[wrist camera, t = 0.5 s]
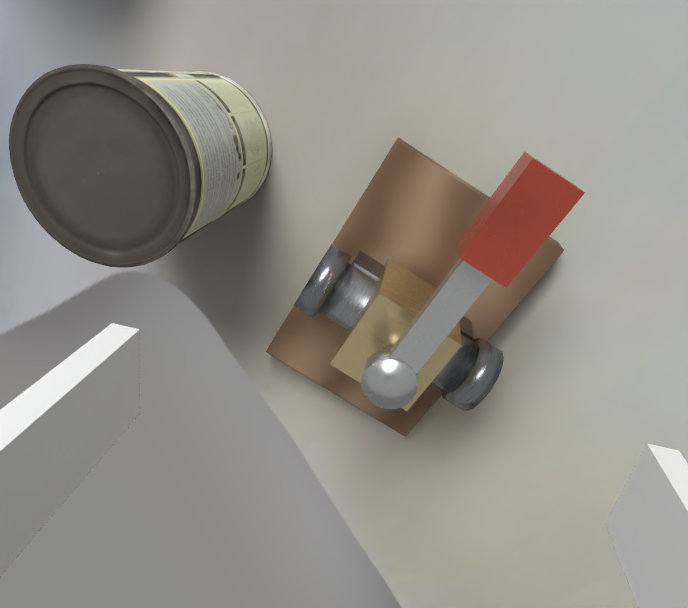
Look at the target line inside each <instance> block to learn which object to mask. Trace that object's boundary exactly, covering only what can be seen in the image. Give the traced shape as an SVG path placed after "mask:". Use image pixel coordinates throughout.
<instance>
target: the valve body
mask: <svg viewBox="0 0 688 608" xmlns="http://www.w3.org/2000/svg"><path fill="white" fill-rule="evenodd" d="M351 257H352V256H350V255H349V254H347V253H345V252H344V251H342V250H341V249H339V248H337V247H336V246H334V245H333V244H332V245H331V246H330V248H329V249H328V251H327V252H326V254H325V256H324V257H323V259H322V260H321V262H320V264H319V265H318V267H317V268H316V270H315V272H314V273H313V275H312V276H311V278H310V280H309V281H308V283H307V285H306V286H305V288H304V289H303V291H302V293H301V294H300V296H299V298H298V299H297V301H296V302H295V304H294V306H295V307H297V308H298V309H300V310H302V311H303V312H305V313H306V314H308V315H310V316H311V317H313V318H314V317H315V316H316V314H317V313H318V312H319V313H320V314H322V315H323V316H325V317H327V318H328V319H330V320H332V321H333V322H335V323H336V324H338V325H340V326H341V327H343V331H342V333H341V336H340V338H339V341H338V344H337V346H336V349H335V352H334V354H333V357H332V359H331V362H330V365H332V366H333V367H335V368H337V369H338V370H340V371H342V372H343V373H345V374H346V375H348V376H350V377H351V378H353V379H355V380H356V381H358V382H360V383H361V378H362V374H363V371H364V367H365V363H366V361H367V360H368V358H369V357H370V356H371V355H372V354H374V353H375V352H377V351H380V350H383V349H391V348H392V347H393V346H394V344H395V343H396V342H397V340H398V339H399V338H400V336H401V335H402V334H403V332H404V331H405V330H406V328H407V327H408V326H409V324H410V323H411V322H412V320H413V319H414V318H415V316H416V315H417V314H418V313H419V311H420V310H421V309H422V307H423V306H424V305H425V303H426V302H427V301H428V299H429V298H430V297H431V295H432V294H433V293H434V291H435V290H436V289H437V288H435V287H434V286H432V285H431V284H429V283H427V282H426V281H424V280H423V279H421V278H420V277H418V276H416V275H415V274H413V273H412V272H410V271H409V270H407V269H405V268H404V267H402V266H401V265H399V264H397V263H396V262H394V261H393V260H391V259H390V258H388V260H387V261H386V263H385V264H384V266H383V267H382V265H383V264H381V263H380V262H378V261H376V260H375V259H373V258H372V257H370V256H368V255H367V254H365V253H364V252H362V251H361V250H360V251H359V253H358V254H357V256H356V257H355V259H354V260H353V262H352V263H351V264H349V261H350V259H351ZM381 268H382V269H381ZM473 338H474V337H473V330H472V323H471V320H470V319H468V318H467V317H465V316H463V317H462V318H461V319H460V321H459V322H458V323H457V324H456V326H455V327H454V328H453V329H452V331H451V332H450V333H449V334H448V336H447V337H446V338H445V339H444V341H443V342H442V343H441V344H440V345H439V347H438V348H437V349H436V350H435V352H434V353H433V354H432V355H431V357H430V358H429V359H428V360H427V362H426V363H425V364H424V365H423V367H422V368H421V369H420V370H419V372H418V385H417V392H416V395H415V397H414V398H413V400H412V401H411V402H410V403H409V404H407V405H406V406H404V407H401V408H402V409H404V410H405V411H408V410H409V409H410V407H411V406H412V405H413V404H414V403H415V401H416V400H417V399H418V398H419V396H420V395H421V394H422V393H423V392H424V390H425V389H426V388H427V387H428V386H429V384H430V383H431V382H432V383H434V384H435V385H437V386H438V387H440V388H442V390H441V393H442V397H443V398H444V399H446V400H448V401H449V402H451V403H452V404H454V405H456V406H457V407H459V408H461V409H462V410H465V411H467V410H470V409H472V408H474V407H475V406H477V405H478V404H479V403H480V402H481V401H482V400H483V399H484V398H485V397H486V396H487V394H488V393H489V392H490V390H491V389H492V387H493V386H494V384H495V382H496V380H497V378H498V376H499V374H500V371H501V368H502V365H503V353H502V351H501V350H499V349H498V348H496V347H495V346H493V345H491V344H490V343H488V342H487V341H485V340H483V339H482V338H476V339H474V340H472V339H473Z"/></svg>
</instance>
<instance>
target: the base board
mask: <svg viewBox="0 0 688 608" xmlns="http://www.w3.org/2000/svg"><path fill="white" fill-rule="evenodd" d="M489 199H490V197H488V196H487V195H485V194H484V193H482V192H480V191H479V190H477V189H476V188H474V187H473V186H471V185H470V184H468V183H467V182H465V181H464V180H462V179H461V178H459V177H458V176H456V175H454V174H453V173H451V172H450V171H448V170H447V169H445V168H444V167H442V166H441V165H439V164H438V163H436V162H435V161H433V160H432V159H430V158H429V157H427V156H425V155H424V154H422V153H421V152H419V151H418V150H416V149H415V148H413V147H412V146H410V145H409V144H407V143H406V142H404V141H403V140H401V139H400V138H398V139H397V140H396V142H395V143H394V145H393V147H392V148H391V150H390V151H389V153H388V155H387V156H386V158H385V160H384V161H383V163H382V164H381V166H380V168H379V169H378V171H377V173H376V174H375V176H374V177H373V179H372V181H371V182H370V184H369V186H368V187H367V189H366V190H365V192H364V194H363V195H362V197H361V198H360V200H359V202H358V203H357V205H356V207H355V208H354V210H353V211H352V213H351V215H350V216H349V218H348V220H347V221H346V223H345V224H344V226H343V228H342V229H341V231H340V232H339V234H338V236H337V237H336V239H335V241H334V242H333V245H334V246H336V247H337V248H339V249H341V250H342V251H344V252H345V253H347V254H349V255H350V256H352V257H351V259H350V261H349V264H351V263H352V262H353V260H354V259H355V257H356V256H357V254H358V253H359V251H360V250H361V251H362V252H364V253H365V254H367V255H368V256H370V257H372V258H373V259H375V260H376V261H378V262H380V263H381V264H383V265H382V267H383V266H384V264H385V263H386V261H387V260H388V258H390V259H391V260H393V261H394V262H396V263H397V264H399V265H401V266H402V267H404V268H405V269H407V270H409V271H410V272H412V273H413V274H415V275H416V276H418V277H420V278H421V279H423V280H424V281H426V282H427V283H429V284H431V285H432V286H434V287H435V288H437V287H438V286H439V285H440V283H441V282H442V281H443V279H444V278H445V277H446V275H447V274H448V273H449V271H450V270H451V269H452V267H453V266H454V265H455V263H456V262H457V261H458V259H459V258H458V250H457V242H458V241H459V240H460V238H461V237H462V236H463V234H464V233H465V232H466V230H467V229H468V228H469V226H470V225H471V224H472V222H473V221H474V219H475V218H476V217H477V215H478V214H479V213H480V211H481V210H482V209H483V207H484V206H485V205H486V203H487V202H488V201H489ZM563 251H564V249H563V248H562V247H561V245H560V244H559V243H558V242H557V241H555V240H554V239H552V238H551V237H548V238H547V239H546V240H545V242H544V243H543V244H542V245H541V246H540V248H539V249H538V250H537V251H536V253H535V254H534V255H533V256H532V257H531V259H530V260H529V261H528V262H527V263H526V265H525V266H524V267H523V268H522V270H521V271H520V272H519V273H518V274H517V276H516V277H515V278H514V279H513V280H512V282H511V283H510V284H509V285H508V286H507V288H505V287H504V286H502V285H500V284H499V283H497V282H496V281H494V280H492V281H491V282H490V283H489V285H488V286H487V287H486V288H485V290H484V291H483V292H482V293H481V294H480V296H479V297H478V298H477V299H476V301H475V302H474V303H473V304H472V306H471V307H470V308H469V309H468V311H467V312H466V313H465V314H464V316H465V317H467V318H468V319H470V320H471V323H472V330H473V337H474V338H473V339H472V340H474V339H476V338H482V339H483V340H485V341H487V340H488V339H489V338H490V337H491V336H492V335H493V333H494V332H495V331H496V330H497V329H498V327H499V326H500V325H501V324H502V323H503V322H504V320H505V319H506V318H507V317H508V316H509V315H510V313H511V312H512V311H513V310H514V309H515V308H516V306H517V305H518V304H519V303H520V302H521V300H522V299H523V298H524V297H525V296H526V295H527V293H528V292H529V291H530V290H531V289H532V288H533V286H534V285H535V284H536V283H537V282H538V281H539V279H540V278H541V277H542V276H543V275H544V273H545V272H546V271H547V270H548V269H549V268H550V266H551V265H552V264H553V263H554V262H555V261H556V259H557V258H558V257H559V256H560V255H561V254H562V252H563ZM381 269H382V268H381ZM342 331H343V327H341V326H340V325H338V324H336V323H335V322H333V321H332V320H330V319H328V318H327V317H325V316H323V315H322V314H320V313H319V312H318V313H317V314H316V316H315V317H314V318H313V317H311V316H310V315H308V314H306V313H305V312H303V311H302V310H300V309H298V308H297V307H295V306H294V307H293V309H292V310H291V312H290V313H289V315H288V317H287V318H286V320H285V322H284V323H283V325H282V326H281V328H280V330H279V331H278V333H277V335H276V336H275V338H274V339H273V341H272V343H271V344H270V346H269V347H268V349H267V351H266V352H267V353H269V354H270V355H272V356H274V357H275V358H277V359H279V360H280V361H282V362H283V363H285V364H287V365H288V366H290V367H292V368H293V369H295V370H297V371H298V372H300V373H302V374H303V375H305V376H307V377H308V378H310V379H312V380H313V381H315V382H316V383H318V384H320V385H321V386H323V387H325V388H326V389H328V390H330V391H331V392H333V393H335V394H336V395H338V396H340V397H341V398H343V399H345V400H346V401H348V402H349V403H351V404H353V405H354V406H356V407H358V408H359V409H361V410H363V411H364V412H366V413H368V414H369V415H371V416H373V417H374V418H376V419H378V420H379V421H381V422H382V423H384V424H386V425H387V426H389V427H391V428H392V429H394V430H396V431H397V432H399V433H401V434H402V435H404V436H406V435H407V434H408V433H409V432H410V431H411V430H412V428H413V427H414V426H415V425H416V424H417V423H418V421H419V420H420V419H421V418H422V417H423V415H424V414H425V413H426V412H427V411H428V410H429V408H430V407H431V406H432V405H433V404H434V403H435V401H436V400H437V399H438V398H439V397H440V396H441V394H442V393H441V390H442V388H440V387H438V386H437V385H435V384H434V383H432V382H431V383H430V384H429V386H428V387H427V388H426V389H425V390H424V392H423V393H422V394H421V395H420V396H419V398H418V399H417V400H416V401H415V403H414V404H413V405H412V406H411V407H410V409H409V410H408V411H405V410H404V409H402V408H398V409H384V408H380V407H378V406H376V405H374V404H372V403H371V402H370V401H369V400H368V399H367V398H366V397H365V395H364V394H363V391H362V388H361V383H360V382H358V381H356V380H355V379H353V378H351V377H350V376H348V375H346V374H345V373H343V372H342V371H340V370H338V369H337V368H335V367H333V366H332V365H330V362H331V359H332V357H333V354H334V352H335V349H336V346H337V344H338V341H339V338H340V336H341V333H342Z"/></svg>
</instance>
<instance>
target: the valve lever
mask: <svg viewBox="0 0 688 608" xmlns="http://www.w3.org/2000/svg"><path fill="white" fill-rule="evenodd" d="M584 193H585V192H583V191H582V190H581V189H579V188H578V187H577V186H575V185H574V184H573V183H571V182H570V181H568V180H567V179H565V178H564V177H562V176H561V175H559V174H558V173H556V172H555V171H553V170H552V169H550V168H549V167H547V166H546V165H544V164H543V163H541V162H540V161H538V160H537V159H535V158H534V157H532V156H531V155H529V154H528V153H526V152H524V153H523V155H522V156H521V157H520V159H519V160H518V161H517V163H516V164H515V165H514V167H513V168H512V169H511V171H510V172H509V174H508V175H507V176H506V178H505V179H504V180H503V182H502V183H501V184H500V186H499V187H498V188H497V190H496V191H495V192H494V194H493V195H492V196H491V198H490V199H489V201H488V202H487V203H486V205H485V206H484V207H483V209H482V210H481V211H480V213H479V214H478V215H477V217H476V218H475V219H474V221H473V222H472V224H471V225H470V226H469V228H468V229H467V230H466V232H465V233H464V234H463V236H462V237H461V238H460V240H459V241H458V242H457V250H458V258H459V259H458V261H457V262H456V263H455V265H454V266H453V267H452V269H451V270H450V271H449V273H448V274H447V275H446V277H445V278H444V279H443V281H442V282H441V283H440V285H439V286H438V287H437V289H436V290H435V291H434V293H433V294H432V295H431V297H430V298H429V299H428V301H427V302H426V303H425V305H424V306H423V307H422V309H421V310H420V311H419V313H418V314H417V315H416V316H415V318H414V319H413V320H412V322H411V323H410V324H409V326H408V327H407V328H406V330H405V331H404V332H403V334H402V335H401V336H400V338H399V339H398V340H397V342H396V343H395V344H394V346H393V347H392V348H391V349H383V350H380V351H377V352H375V353H374V354H372V355H371V356H370V357H369V358H368V360H367V361H366V363H365V367H364V371H363V374H362V378H361V388H362V391H363V394H364V395H365V397H366V398H367V399H368V400H369V401H370V402H371V403H372V404H374V405H376V406H378V407H380V408H384V409H398V408H401V407H404V406H406V405H407V404H409V403H410V402H411V401H412V400H413V398H414V397H415V395H416V392H417V385H418V372H419V370H420V369H421V368H422V367H423V365H424V364H425V363H426V362H427V360H428V359H429V358H430V357H431V355H432V354H433V353H434V352H435V350H436V349H437V348H438V347H439V345H440V344H441V343H442V342H443V341H444V339H445V338H446V337H447V336H448V334H449V333H450V332H451V331H452V329H453V328H454V327H455V326H456V324H457V323H458V322H459V321H460V319H461V318H462V317H463V316H464V314H465V313H466V312H467V311H468V309H469V308H470V307H471V306H472V304H473V303H474V302H475V301H476V299H477V298H478V297H479V296H480V294H481V293H482V292H483V291H484V290H485V288H486V287H487V286H488V285H489V283H490V282H491V281H492V280H494V281H496V282H497V283H499V284H500V285H502V286H504V287H505V288H507V286H508V285H509V284H510V283H511V282H512V280H513V279H514V278H515V277H516V276H517V274H518V273H519V272H520V271H521V270H522V268H523V267H524V266H525V265H526V263H527V262H528V261H529V260H530V259H531V257H532V256H533V255H534V254H535V253H536V251H537V250H538V249H539V248H540V246H541V245H542V244H543V243H544V242H545V240H546V239H547V238H548V237H549V236H550V234H551V233H552V232H553V231H554V230H555V228H556V227H557V226H558V225H559V223H560V222H561V221H562V220H563V219H564V217H565V216H566V215H567V214H568V213H569V211H570V210H571V209H572V208H573V207H574V205H575V204H576V203H577V202H578V200H579V199H580V198H581V197H582V196H583V194H584Z"/></svg>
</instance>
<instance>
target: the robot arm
mask: <svg viewBox="0 0 688 608" xmlns="http://www.w3.org/2000/svg"><path fill="white" fill-rule="evenodd" d="M139 402H140V330H139V329H136V328H131V327H126V326H122V325H118V324H113V323H112V324H110V325H109V326H108V327H107V328H105V329H104V330H103V331H102V332H100V333H99V334H98V335H96V336H95V337H94V338H92V339H91V340H90V341H89V342H87V343H86V344H85V345H83V346H82V347H81V348H80V349H78V350H77V351H76V352H74V353H73V354H72V355H70V356H69V357H68V358H67V359H65V360H64V361H63V362H61V363H60V364H59V365H58V366H56V367H55V368H54V369H53V370H51V371H50V372H49V373H48V374H46V375H45V376H44V377H42V378H41V379H40V380H38V381H37V382H36V383H34V384H33V385H32V386H31V387H29V388H28V389H27V390H25V391H24V392H23V393H22V394H20V395H19V396H18V397H16V398H15V399H14V400H13V401H12V402H10V403H9V404H7V405H6V406H5V407H3V408H2V409H1V410H0V576H1V575H2V574H3V573H4V572H5V571H6V569H7V568H8V567H9V566H10V564H12V562H13V561H14V560H15V558H17V557H18V555H19V554H20V553H21V552H22V551H23V549H24V548H25V547H26V546H27V545H28V544H29V543H30V541H31V540H32V539H33V538H34V537H35V535H36V534H37V533H38V532H39V531H40V530H41V528H42V527H43V526H44V525H45V524H46V523H47V521H48V520H49V519H50V518H51V517H52V516H53V515H54V513H55V512H56V511H57V510H58V509H59V508H60V506H61V505H62V504H63V503H64V502H65V500H66V499H67V498H68V497H69V496H70V495H71V493H72V492H73V491H74V490H75V489H76V488H77V487H78V485H79V484H80V483H81V482H82V481H83V480H84V478H85V477H86V476H87V475H88V474H89V473H90V471H91V470H92V469H93V468H94V467H95V466H96V464H97V463H98V462H99V461H100V460H101V458H102V457H103V456H104V455H105V454H106V453H107V451H108V450H109V449H110V448H111V447H112V446H113V445H114V443H115V442H116V441H117V440H118V439H119V437H120V436H121V435H122V434H123V433H124V432H125V431H126V429H127V428H128V427H129V426H130V425H131V424H132V422H133V421H134V420H135V419H136V418H137V417H138V415H139V414H140V405H139V404H140V403H139ZM605 525H606V528H607V530H608V533H609V535H610V538H611V540H612V543H613V545H614V548H615V550H616V553H617V555H618V558H619V560H620V563H621V565H622V568H623V570H624V573H625V575H626V578H627V581H628V583H629V586H630V588H631V591H632V593H633V596H634V598H635V601H636V603H637V606H638V608H688V464H687V462H686V461H685V459H684V458H683V456H682V455H681V453H680V452H679V451H678V450H673V449H669V448H664V447H660V446H656V445H651V444H647V445H646V447H645V449H644V450H643V452H642V454H641V456H640V458H639V460H638V462H637V464H636V466H635V468H634V470H633V472H632V474H631V475H630V477H629V479H628V481H627V483H626V485H625V487H624V489H623V491H622V493H621V495H620V497H619V498H618V500H617V502H616V504H615V506H614V508H613V510H612V512H611V514H610V516H609V518H608V520H607V521H606V523H605Z"/></svg>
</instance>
